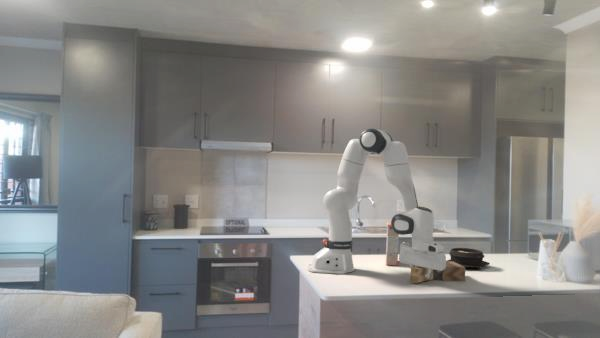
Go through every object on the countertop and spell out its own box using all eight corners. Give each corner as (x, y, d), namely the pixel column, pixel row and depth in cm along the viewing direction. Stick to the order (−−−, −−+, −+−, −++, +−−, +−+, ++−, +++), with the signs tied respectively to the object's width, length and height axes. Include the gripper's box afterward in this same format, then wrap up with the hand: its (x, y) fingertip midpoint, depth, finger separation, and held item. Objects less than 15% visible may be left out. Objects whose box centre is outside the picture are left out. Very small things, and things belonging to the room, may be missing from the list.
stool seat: (432, 280, 181) (432, 266, 181) (423, 273, 193) (423, 261, 193) (465, 280, 181) (465, 267, 181) (453, 274, 193) (453, 261, 193)
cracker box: (398, 266, 208) (399, 225, 208) (386, 265, 209) (386, 224, 209) (397, 260, 221) (398, 222, 222) (386, 260, 223) (386, 221, 223)
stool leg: (432, 276, 186) (432, 263, 186) (437, 277, 184) (438, 264, 184) (410, 281, 175) (410, 267, 176) (415, 283, 173) (415, 269, 174)
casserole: (461, 272, 198) (461, 255, 198) (434, 264, 215) (434, 248, 215) (499, 269, 207) (499, 252, 208) (470, 261, 224) (470, 246, 225)
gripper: (396, 242, 181) (395, 273, 181) (441, 249, 167) (440, 283, 167) (403, 240, 186) (402, 271, 186) (448, 247, 172) (447, 280, 172)
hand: (421, 277), depth 176 cm, fingers open, 4 cm apart
